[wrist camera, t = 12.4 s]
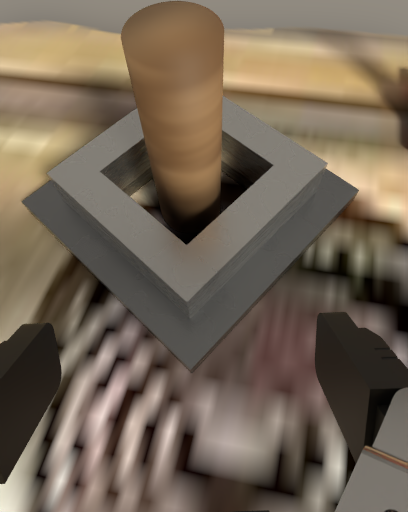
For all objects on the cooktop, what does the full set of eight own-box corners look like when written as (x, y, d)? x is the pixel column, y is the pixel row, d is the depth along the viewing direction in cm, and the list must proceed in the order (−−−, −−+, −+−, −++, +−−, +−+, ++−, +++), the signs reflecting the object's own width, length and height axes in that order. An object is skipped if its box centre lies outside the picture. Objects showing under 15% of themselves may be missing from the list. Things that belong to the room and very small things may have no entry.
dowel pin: (149, 208, 23) (99, 34, 13) (190, 173, 24) (173, -11, 14) (191, 244, 22) (171, 82, 12) (232, 205, 23) (245, 28, 13)
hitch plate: (29, 210, 23) (0, 174, 20) (189, 91, 28) (186, 45, 24) (191, 373, 19) (187, 359, 16) (353, 199, 23) (375, 161, 20)
